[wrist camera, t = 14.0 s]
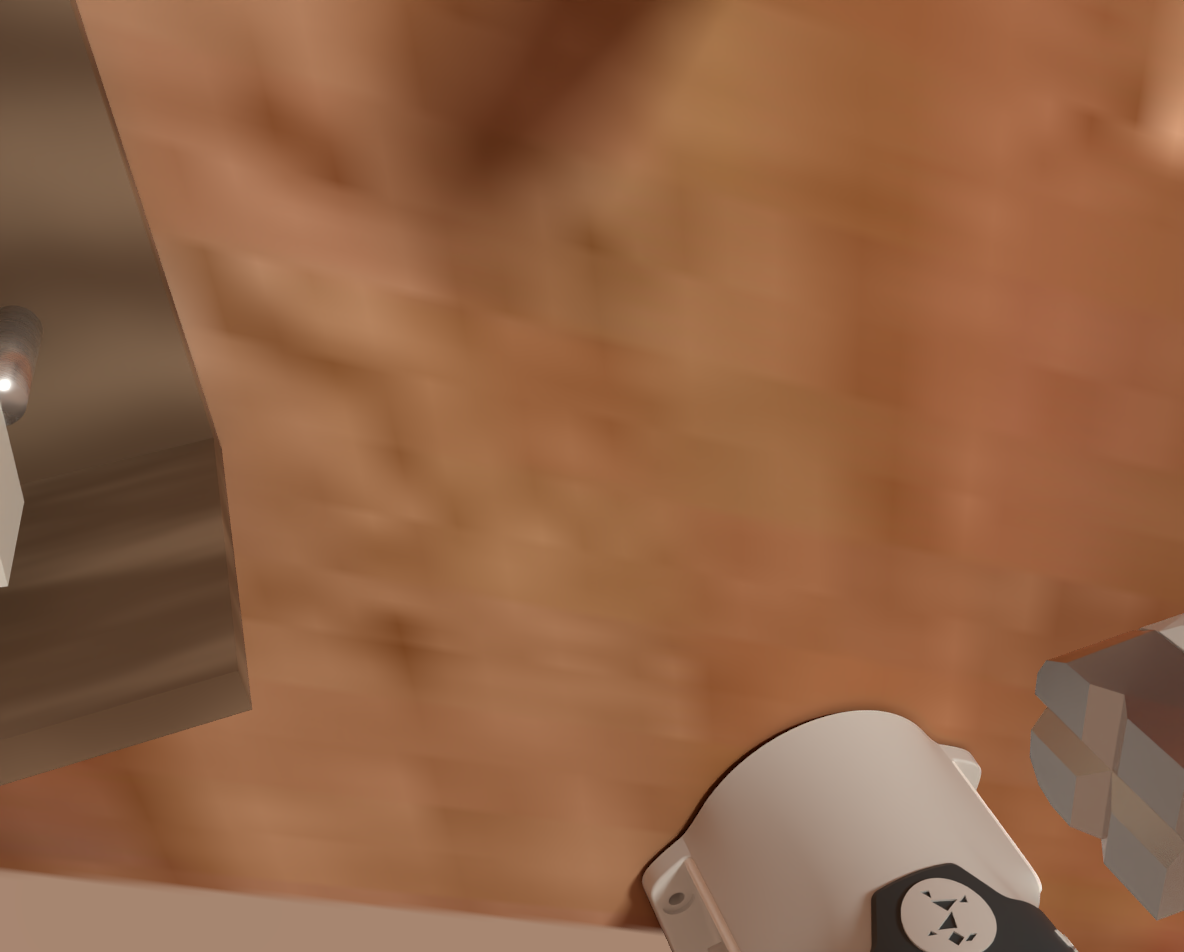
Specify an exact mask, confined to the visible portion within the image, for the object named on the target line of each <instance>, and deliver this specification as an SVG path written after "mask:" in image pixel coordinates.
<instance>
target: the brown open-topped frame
mask: <svg viewBox="0 0 1184 952" xmlns="http://www.w3.org/2000/svg"><path fill="white" fill-rule="evenodd" d="M0 403H1V407H2V411H3V415H4V420H5V424H6V428H7V432H8V436H9V440H10V444H11V449H12V453H13V457H14V461H15V465H16V469H17V474H18V478H19V482H20V486H21V490H22V494H23V499H24V505H23V511H22V516H21V521H20V526H19V531H18V537H17V542H16V547H15V552H14V558H13V563H12V568H11V573H10V578H9V584H8V586H6V587H0V786H1V785H4V784H7V783H11V782H14V781H17V780H21V779H24V778H27V777H30V776H34V775H37V774H40V773H44V772H47V771H50V770H54V769H57V768H60V767H64V766H67V765H70V764H73V763H77V762H80V761H83V760H87V759H90V758H93V757H97V756H100V755H103V754H107V753H110V752H113V751H116V750H120V749H123V748H126V747H130V746H133V745H136V744H140V743H143V742H146V741H149V740H153V739H156V738H159V737H163V736H166V735H169V734H173V733H176V732H179V731H183V730H186V729H189V728H192V727H196V726H199V725H202V724H206V723H209V722H212V721H216V720H219V719H222V718H226V717H229V716H232V715H235V714H239V713H242V712H245V711H249V710H252V704H251V696H250V687H249V679H248V670H247V661H246V653H245V644H244V636H243V627H242V619H241V610H240V602H239V593H238V585H237V576H236V568H235V559H234V551H233V542H232V533H231V525H230V516H229V508H228V499H227V491H226V482H225V474H224V465H223V457H222V449H221V446H220V442H219V439H218V436H217V433H216V430H215V427H214V424H213V421H212V418H211V415H210V412H209V409H208V406H207V403H206V400H205V396H204V393H203V390H202V387H201V384H200V381H199V378H198V375H197V372H196V369H195V366H194V363H193V360H192V357H191V354H190V350H189V347H188V344H187V341H186V338H185V335H184V332H183V329H182V326H181V323H180V320H179V317H178V314H177V311H176V308H175V304H174V301H173V298H172V295H171V292H170V289H169V286H168V283H167V280H166V277H165V274H164V271H163V268H162V265H161V262H160V258H159V255H158V252H157V249H156V246H155V243H154V240H153V237H152V234H151V231H150V228H149V225H148V222H147V219H146V216H145V212H144V209H143V206H142V203H141V200H140V197H139V194H138V191H137V188H136V185H135V182H134V179H133V176H132V173H131V170H130V166H129V163H128V160H127V157H126V154H125V151H124V148H123V145H122V142H121V139H120V136H119V133H118V130H117V127H116V124H115V120H114V117H113V114H112V111H111V108H110V105H109V102H108V99H107V96H106V93H105V90H104V87H103V84H102V81H101V78H100V74H99V71H98V68H97V65H96V62H95V59H94V56H93V53H92V50H91V47H90V44H89V41H88V38H87V35H86V32H85V28H84V25H83V22H82V19H81V16H80V13H79V10H78V7H77V4H76V1H75V0H0Z"/></svg>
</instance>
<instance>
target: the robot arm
mask: <svg viewBox="0 0 1184 952" xmlns="http://www.w3.org/2000/svg"><path fill="white" fill-rule="evenodd" d="M1035 694H1036V695H1037V696H1038V698H1039V699H1040V700H1041V701H1042V702H1043V703H1044V704H1045V705H1046V706H1047V708H1046V709H1045V711H1044V712H1043V714H1042V715H1041V717H1040V718H1039V720H1038V721H1037V722H1036V724H1035V725H1034V727H1033V728H1032V730H1031V745H1030V759H1031V762H1032V765H1033V768H1034V771H1035V774H1036V778H1037V781H1038V784H1039V786H1040V788H1041V789H1042V791H1043V792H1044V794H1045V796H1046V797H1047V799H1048V801H1049V802H1050V804H1051V805H1052V807H1053V808H1054V809H1055V810H1056V811H1057V812H1058V813H1059V815H1060V816H1061V817H1062V818H1063V819H1064V820H1065V821H1066V822H1067V824H1068V825H1069V826H1070V827H1073V828H1075V829H1078V830H1080V831H1083V832H1085V833H1087V834H1090V835H1092V836H1095V837H1097V838H1100V839H1101V841H1102V851H1103V861H1104V864H1105V865H1106V866H1107V867H1108V868H1109V869H1110V870H1111V872H1112V873H1113V874H1114V875H1115V876H1116V877H1117V878H1118V879H1119V880H1120V881H1121V882H1122V883H1123V884H1124V886H1125V887H1126V888H1127V889H1128V890H1129V891H1130V892H1131V893H1132V894H1133V895H1134V896H1135V897H1136V898H1137V900H1138V901H1139V902H1140V903H1141V904H1142V905H1143V906H1144V907H1145V908H1146V909H1147V910H1148V911H1149V912H1150V914H1151V915H1152V916H1153V917H1154V918H1155V919H1156V920H1159V919H1162V918H1165V917H1167V916H1170V915H1173V914H1176V913H1178V912H1181V911H1184V613H1183V614H1180V615H1178V616H1175V617H1172V618H1169V619H1166V620H1163V621H1160V622H1157V623H1154V624H1151V625H1148V626H1145V627H1142V628H1140V629H1139V630H1132V631H1129V632H1126V633H1123V634H1120V635H1117V636H1115V637H1112V638H1109V639H1106V640H1103V641H1100V642H1098V643H1095V644H1092V645H1089V646H1086V647H1083V648H1080V649H1078V650H1075V651H1072V652H1069V653H1066V654H1063V655H1061V656H1058V657H1055V658H1052V659H1049V660H1046V662H1045V663H1044V665H1043V666H1042V667H1041V669H1040V670H1039V672H1038V674H1037V682H1036V690H1035ZM980 777H981V768H980V766H979V765H978V763H977V762H976V761H975V759H974V758H973V756H972V755H971V754H970V753H969V752H968V751H966V750H964V749H961V748H957V747H953V746H947V745H941V744H938V743H936V742H934V741H933V740H932V739H930V738H929V737H928V736H927V735H926V734H925V733H924V732H923V731H922V730H921V729H920V728H919V727H918V726H917V725H916V724H914V723H913V722H911V721H910V720H908V719H906V718H904V717H901V716H899V715H896V714H892V713H888V712H883V711H873V710H860V711H849V712H842V713H837V714H833V715H829V716H825V717H822V718H819V719H815V720H813V721H810V722H807V723H805V724H802V725H800V726H798V727H796V728H793V729H791V730H789V731H787V732H785V733H784V734H782V735H780V736H778V737H776V738H775V739H773V740H771V741H770V742H768V743H767V744H765V745H764V746H762V747H761V748H759V749H758V750H756V751H755V752H754V753H752V754H751V755H750V756H748V757H747V758H746V759H745V760H744V761H742V762H741V763H740V764H739V765H738V766H737V767H736V768H735V769H733V770H732V771H731V772H730V773H729V774H728V775H727V776H726V777H725V778H724V780H723V781H722V782H721V783H720V784H719V785H718V786H717V787H716V789H715V790H714V791H713V792H712V794H711V795H710V796H709V798H708V799H707V801H706V802H705V803H704V805H703V807H702V808H701V810H700V811H699V813H698V815H697V816H696V818H695V819H694V821H693V823H692V824H691V825H690V827H689V828H688V830H687V831H686V832H685V833H684V835H683V836H682V837H681V838H680V839H678V840H677V841H676V842H675V843H674V844H672V845H671V846H670V847H669V848H668V849H667V850H666V851H664V852H663V853H662V854H661V855H660V856H659V857H658V858H657V859H656V860H655V861H654V862H653V863H652V864H651V865H650V866H649V867H648V868H647V870H646V871H645V873H644V875H643V878H642V884H643V888H644V890H645V892H646V894H647V897H648V899H649V901H650V903H651V906H652V908H653V910H654V912H655V914H656V917H657V919H658V921H659V923H660V926H661V928H662V930H663V932H664V934H665V937H666V939H667V941H668V943H669V946H670V948H671V950H672V952H1078V951H1077V949H1076V948H1075V947H1074V946H1073V944H1072V943H1071V942H1070V941H1069V939H1068V938H1067V937H1066V936H1065V935H1064V934H1062V933H1061V932H1060V931H1059V930H1057V929H1056V928H1055V926H1054V925H1053V924H1052V923H1051V921H1050V920H1049V919H1048V918H1047V917H1046V915H1045V914H1044V913H1043V912H1042V911H1041V910H1040V909H1039V908H1038V907H1039V903H1040V892H1041V891H1042V886H1041V882H1040V880H1039V877H1038V876H1037V874H1036V872H1035V871H1034V869H1033V868H1032V867H1031V865H1030V864H1029V862H1028V861H1027V860H1026V858H1025V857H1024V855H1023V854H1022V853H1021V851H1020V850H1019V849H1018V847H1017V846H1016V844H1015V843H1014V842H1013V840H1012V839H1011V838H1010V836H1009V835H1008V833H1007V832H1006V831H1005V829H1004V828H1003V827H1002V825H1001V824H1000V822H999V821H998V820H997V818H996V817H995V816H994V814H993V813H992V812H991V810H990V809H989V808H988V806H987V805H986V804H985V802H984V801H983V800H982V798H981V797H980V795H979V794H978V793H977V791H976V789H977V786H978V783H979V780H980Z"/></svg>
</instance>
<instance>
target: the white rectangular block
mask: <svg viewBox="0 0 1184 952" xmlns="http://www.w3.org/2000/svg"><path fill="white" fill-rule="evenodd" d="M23 505H24V499H23V494H22V490H21V486H20V482H19V478H18V474H17V469H16V465H15V461H14V457H13V453H12V449H11V444H10V440H9V436H8V432H7V428H6V424H5V420H4V415H3V411H2V407H1V403H0V587H6V586H8V584H9V578H10V573H11V568H12V563H13V558H14V552H15V547H16V542H17V537H18V531H19V526H20V521H21V516H22V511H23Z"/></svg>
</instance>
